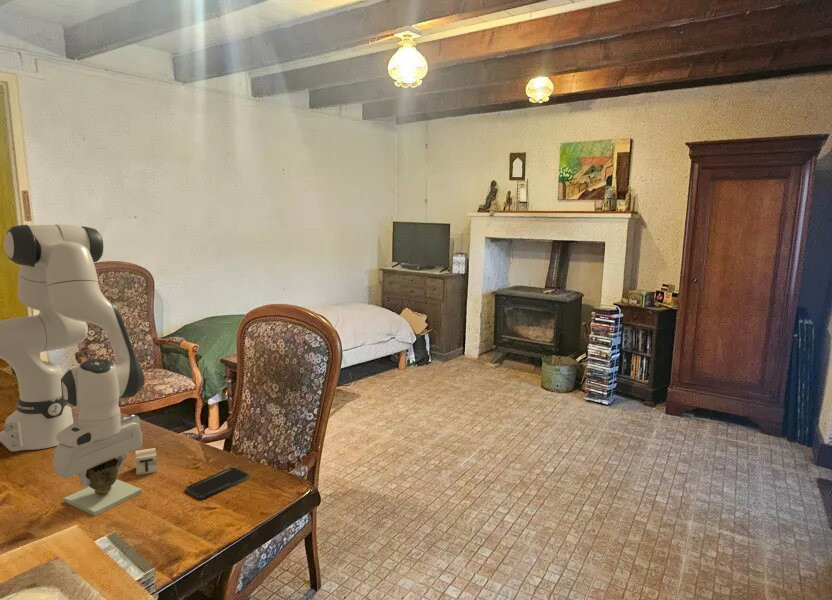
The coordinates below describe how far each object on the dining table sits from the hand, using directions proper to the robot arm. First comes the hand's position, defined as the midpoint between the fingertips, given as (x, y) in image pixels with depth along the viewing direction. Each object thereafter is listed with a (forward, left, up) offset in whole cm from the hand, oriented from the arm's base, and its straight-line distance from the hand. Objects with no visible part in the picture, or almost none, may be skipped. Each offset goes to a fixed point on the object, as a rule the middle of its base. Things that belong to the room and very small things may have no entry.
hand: (102, 478), depth 128 cm
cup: (0, 0, -4) cm, 4 cm away
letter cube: (-3, +14, -5) cm, 16 cm away
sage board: (0, 0, -5) cm, 5 cm away
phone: (+19, +19, -6) cm, 28 cm away
